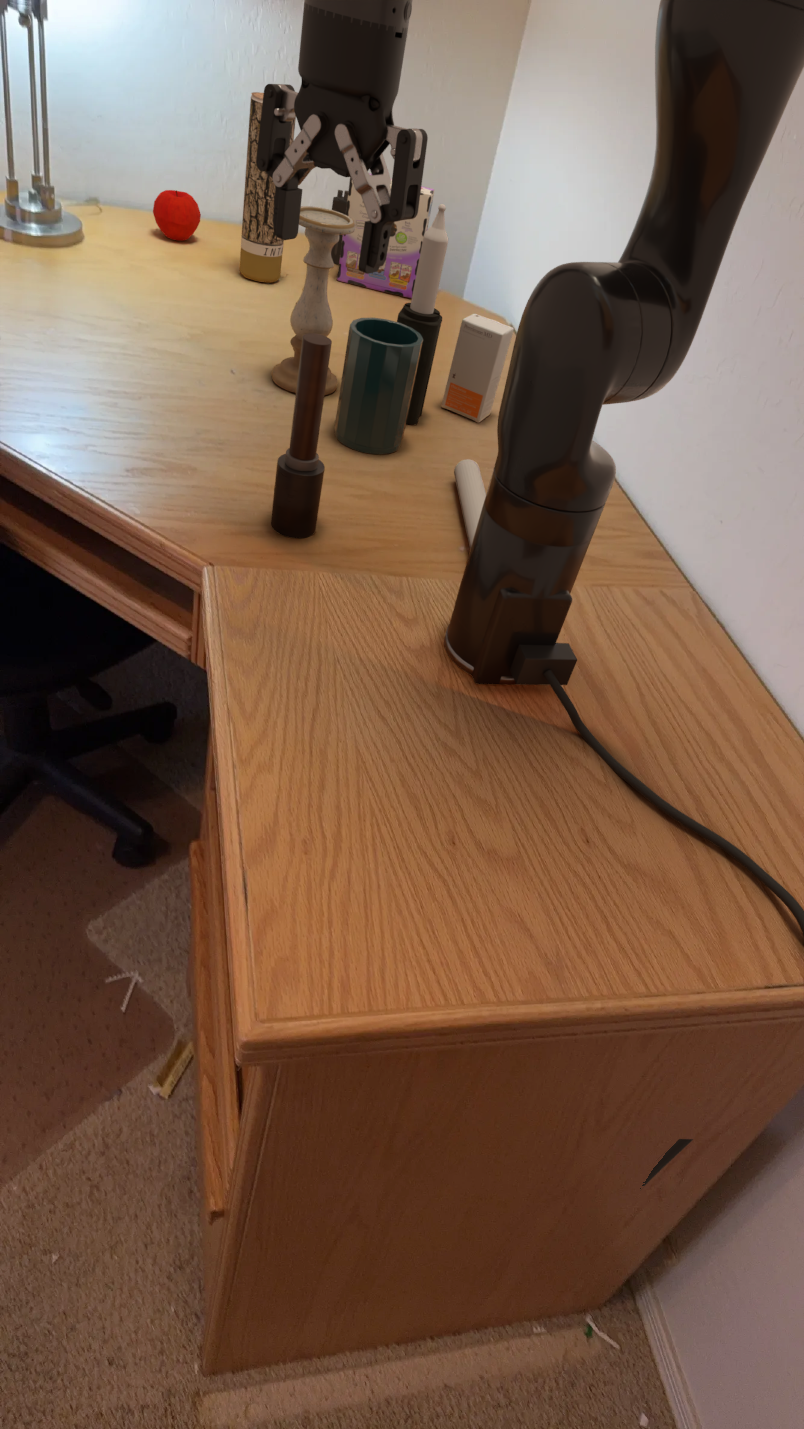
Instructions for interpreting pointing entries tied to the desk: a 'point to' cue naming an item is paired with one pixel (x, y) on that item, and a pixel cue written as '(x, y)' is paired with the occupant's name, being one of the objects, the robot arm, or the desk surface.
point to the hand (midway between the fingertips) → (326, 254)
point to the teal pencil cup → (377, 385)
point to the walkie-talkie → (340, 206)
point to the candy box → (401, 249)
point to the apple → (176, 214)
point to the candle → (426, 308)
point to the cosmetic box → (477, 367)
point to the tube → (470, 494)
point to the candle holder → (314, 290)
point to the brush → (303, 446)
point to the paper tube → (259, 210)
